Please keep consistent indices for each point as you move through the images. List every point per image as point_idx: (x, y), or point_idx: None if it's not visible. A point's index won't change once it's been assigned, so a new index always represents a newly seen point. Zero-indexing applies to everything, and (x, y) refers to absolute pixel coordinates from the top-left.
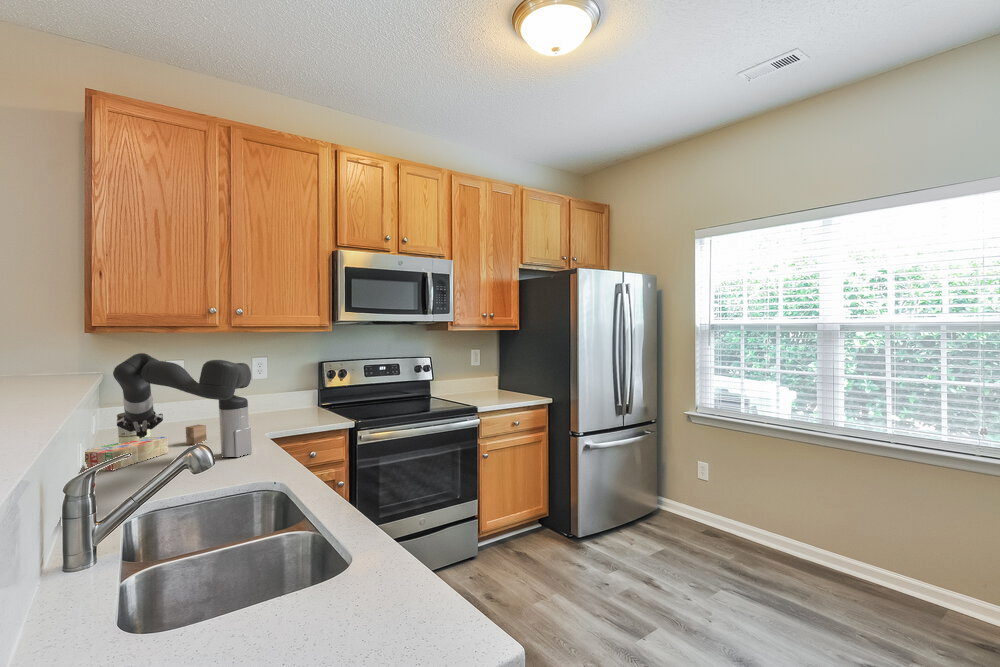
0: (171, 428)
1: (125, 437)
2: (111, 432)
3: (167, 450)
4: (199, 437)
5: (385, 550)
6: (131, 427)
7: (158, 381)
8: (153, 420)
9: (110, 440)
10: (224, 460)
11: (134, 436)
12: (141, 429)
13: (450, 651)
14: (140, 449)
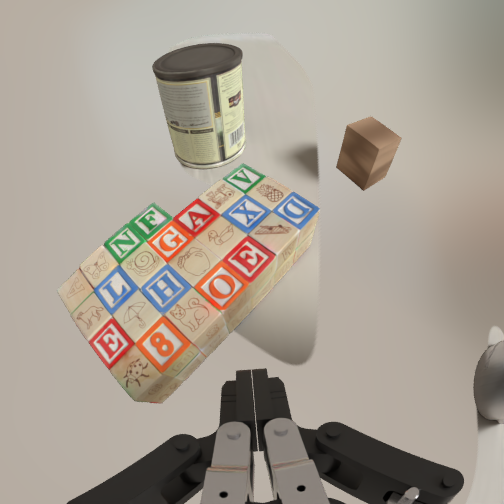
0: (264, 58)
1: (181, 133)
2: None
3: (310, 241)
4: (379, 169)
5: None
6: (191, 478)
7: None
8: (368, 481)
9: None
10: (478, 436)
11: (204, 133)
12: (258, 440)
13: None
14: (234, 309)
